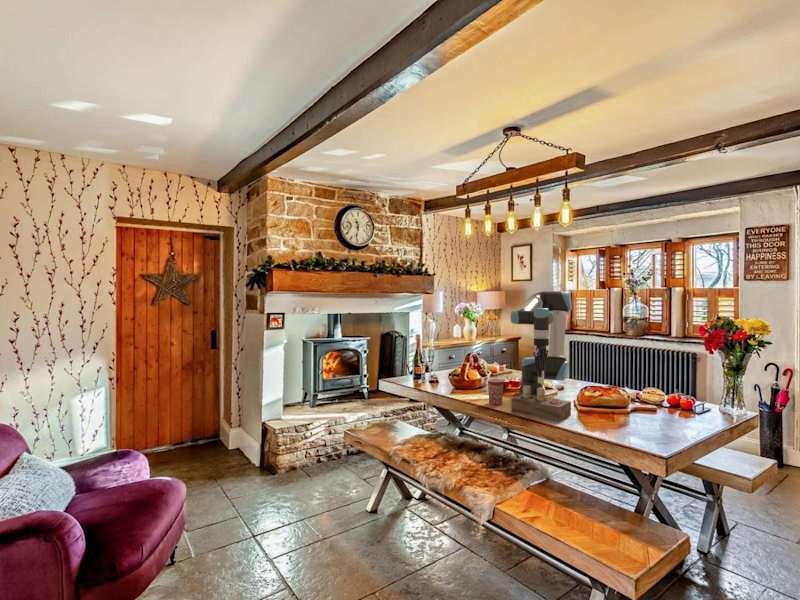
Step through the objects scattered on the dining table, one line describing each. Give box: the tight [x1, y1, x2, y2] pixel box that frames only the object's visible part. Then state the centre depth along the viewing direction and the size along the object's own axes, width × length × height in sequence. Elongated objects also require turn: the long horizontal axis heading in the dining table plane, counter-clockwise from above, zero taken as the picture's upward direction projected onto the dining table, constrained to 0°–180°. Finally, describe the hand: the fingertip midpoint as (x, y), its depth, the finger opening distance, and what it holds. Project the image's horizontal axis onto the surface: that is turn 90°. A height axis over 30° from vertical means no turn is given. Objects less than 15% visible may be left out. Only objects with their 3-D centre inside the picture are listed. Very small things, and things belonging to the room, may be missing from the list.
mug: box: [487, 377, 507, 406], centre depth 252 cm, size 13×9×14 cm
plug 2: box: [551, 397, 561, 404], centre depth 227 cm, size 4×4×8 cm
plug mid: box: [537, 387, 546, 402], centre depth 232 cm, size 4×4×8 cm
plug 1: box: [523, 386, 531, 399], centre depth 237 cm, size 4×4×8 cm
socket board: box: [511, 394, 572, 422], centre depth 232 cm, size 14×26×7 cm, turn 48°
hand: (540, 382), depth 232 cm, fingers closed
